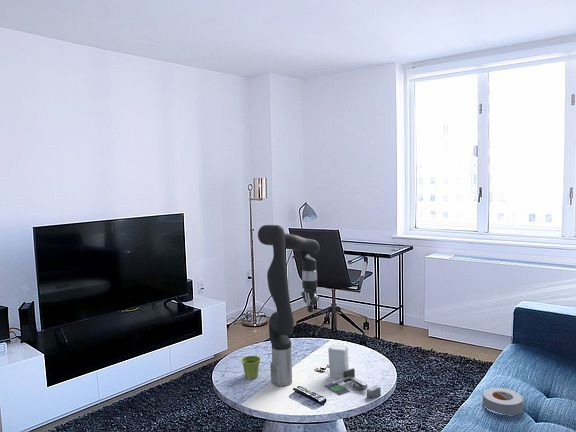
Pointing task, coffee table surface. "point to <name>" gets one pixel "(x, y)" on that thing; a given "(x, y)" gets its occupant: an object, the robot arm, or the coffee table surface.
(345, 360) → the skincare box
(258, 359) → the plant pot
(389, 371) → the coffee table surface
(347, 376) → the grey l-shaped bracket
